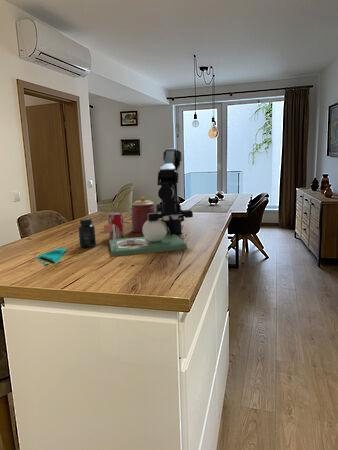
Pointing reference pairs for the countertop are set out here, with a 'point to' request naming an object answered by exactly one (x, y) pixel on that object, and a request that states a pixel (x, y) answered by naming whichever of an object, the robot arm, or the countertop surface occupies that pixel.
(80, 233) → the supplement bottle
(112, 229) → the putting deck
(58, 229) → the countertop surface
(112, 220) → the soda can
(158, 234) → the ball
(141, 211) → the canister
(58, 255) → the cloth
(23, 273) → the countertop surface
